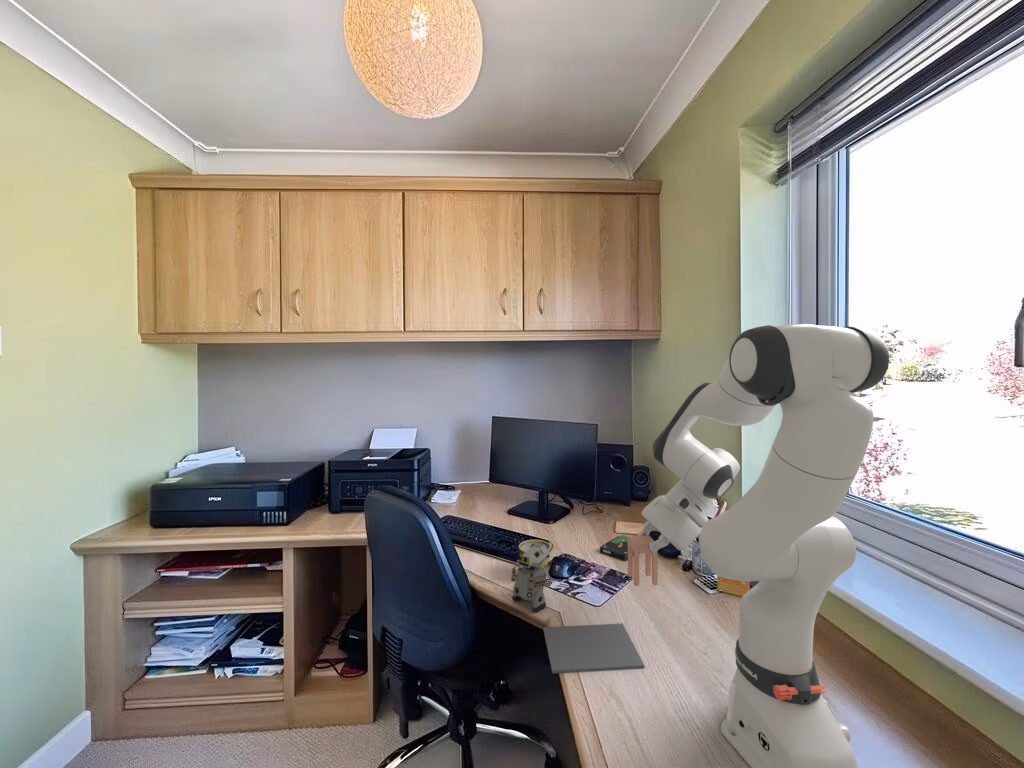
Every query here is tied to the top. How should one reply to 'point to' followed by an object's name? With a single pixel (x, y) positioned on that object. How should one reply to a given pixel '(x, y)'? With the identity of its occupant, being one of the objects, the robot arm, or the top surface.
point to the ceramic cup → (526, 546)
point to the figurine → (531, 576)
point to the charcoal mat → (590, 648)
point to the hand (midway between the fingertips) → (645, 544)
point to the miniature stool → (641, 546)
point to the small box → (732, 586)
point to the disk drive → (616, 548)
